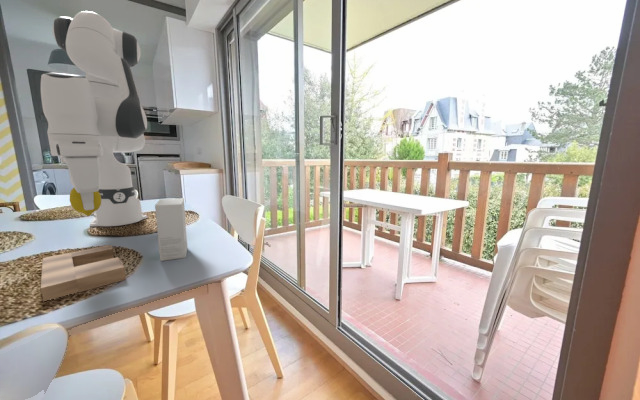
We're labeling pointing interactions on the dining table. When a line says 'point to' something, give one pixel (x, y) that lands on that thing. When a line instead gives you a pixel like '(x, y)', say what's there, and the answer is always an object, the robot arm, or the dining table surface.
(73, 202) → the lemon
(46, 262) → the notched board
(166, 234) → the skincare box
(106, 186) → the robot arm
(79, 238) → the dining table surface
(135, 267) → the dining table surface
